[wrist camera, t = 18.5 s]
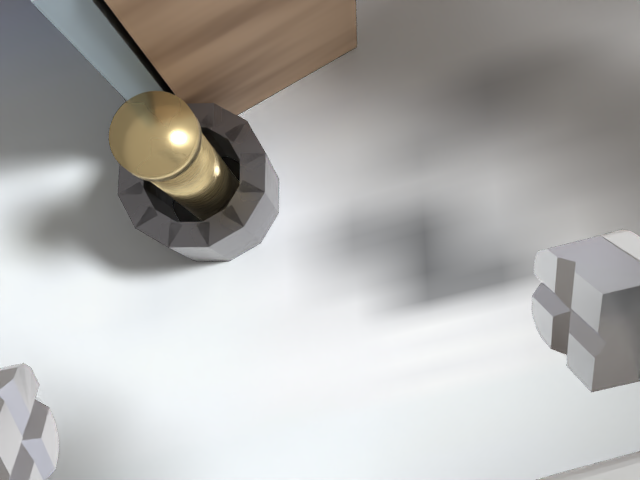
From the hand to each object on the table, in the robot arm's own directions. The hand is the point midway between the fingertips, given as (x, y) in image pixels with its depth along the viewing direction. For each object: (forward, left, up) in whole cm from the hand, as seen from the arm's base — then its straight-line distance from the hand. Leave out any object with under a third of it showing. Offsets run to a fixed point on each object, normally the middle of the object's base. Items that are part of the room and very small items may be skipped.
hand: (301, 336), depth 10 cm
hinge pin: (+10, -3, -21) cm, 24 cm away
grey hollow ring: (+11, -4, -21) cm, 25 cm away
